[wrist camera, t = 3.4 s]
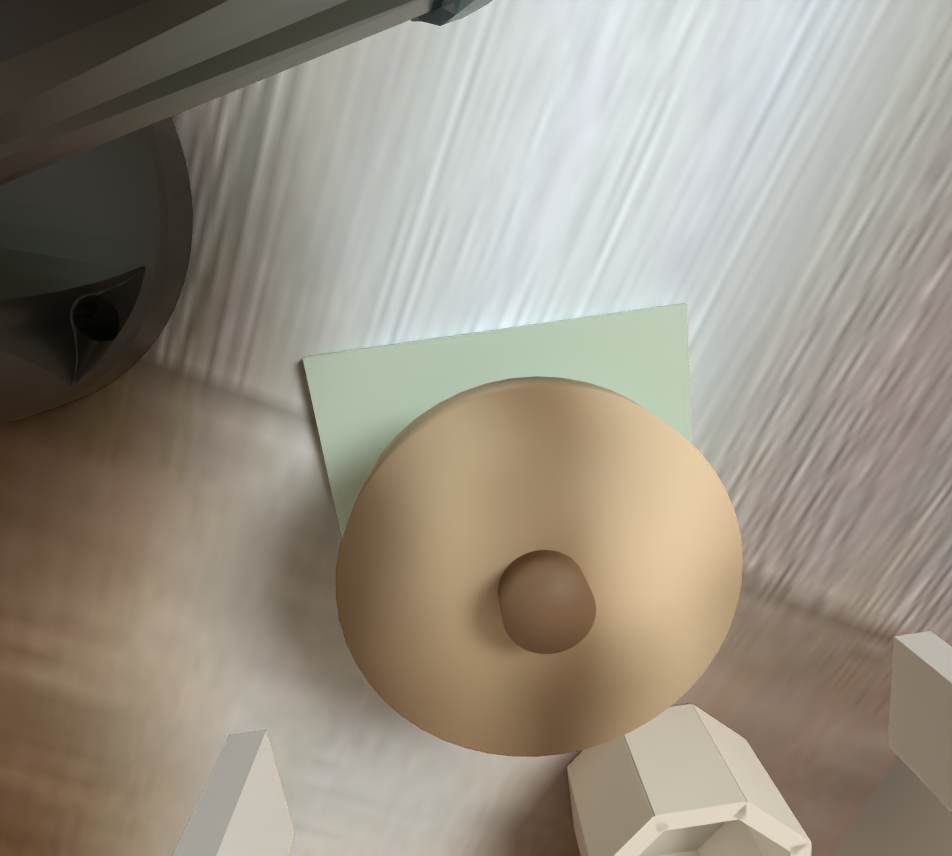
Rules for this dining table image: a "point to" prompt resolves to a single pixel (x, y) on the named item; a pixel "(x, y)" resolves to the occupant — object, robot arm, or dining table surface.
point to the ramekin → (679, 794)
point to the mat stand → (490, 379)
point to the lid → (537, 568)
